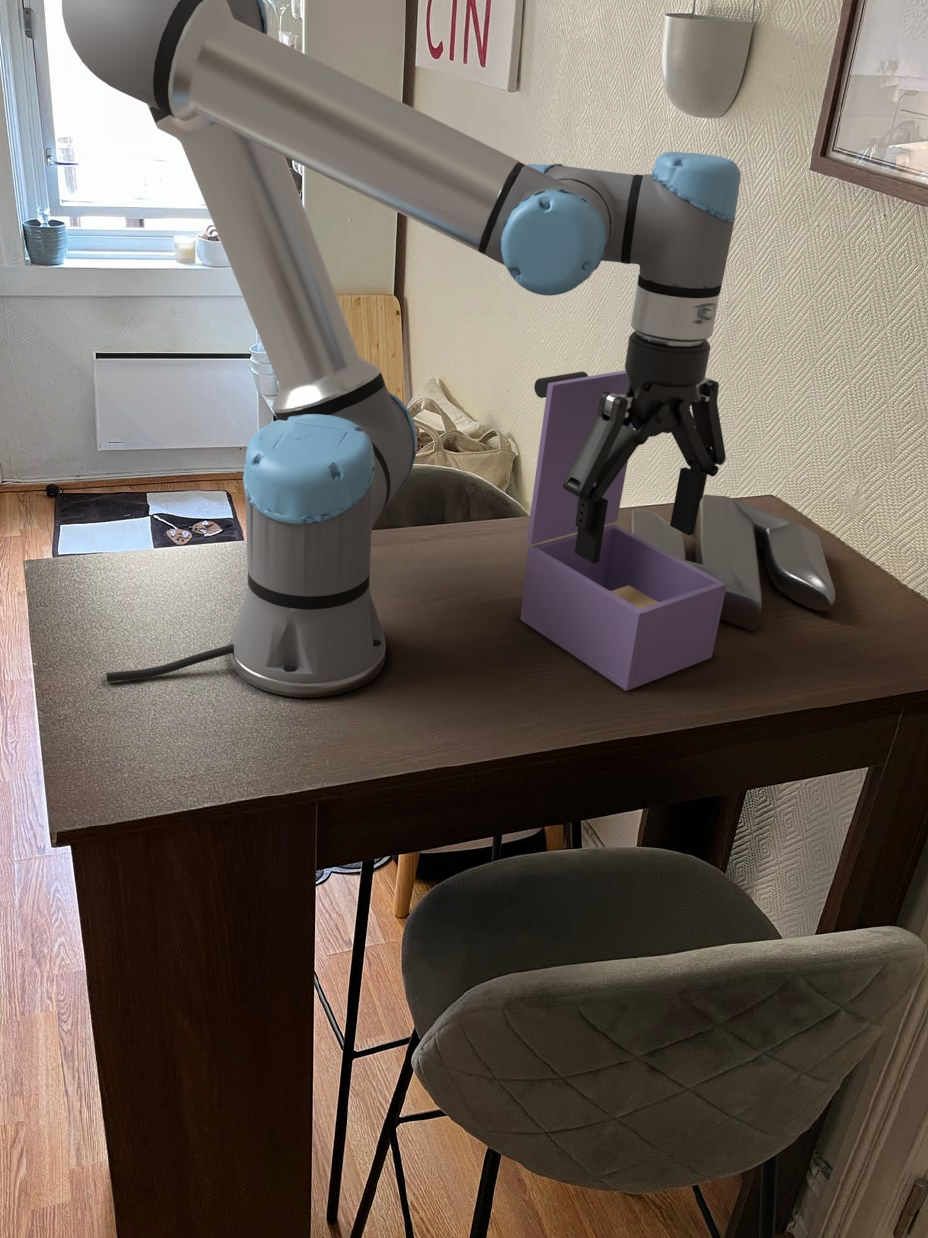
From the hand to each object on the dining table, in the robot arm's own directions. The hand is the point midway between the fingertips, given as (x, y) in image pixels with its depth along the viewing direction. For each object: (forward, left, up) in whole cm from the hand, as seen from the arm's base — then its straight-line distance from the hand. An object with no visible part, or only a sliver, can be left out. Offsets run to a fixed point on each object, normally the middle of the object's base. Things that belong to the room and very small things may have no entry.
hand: (635, 543), depth 113 cm
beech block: (0, 0, -11) cm, 11 cm away
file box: (0, +1, -12) cm, 12 cm away
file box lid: (0, +9, +6) cm, 11 cm away
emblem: (+23, +6, -12) cm, 27 cm away
